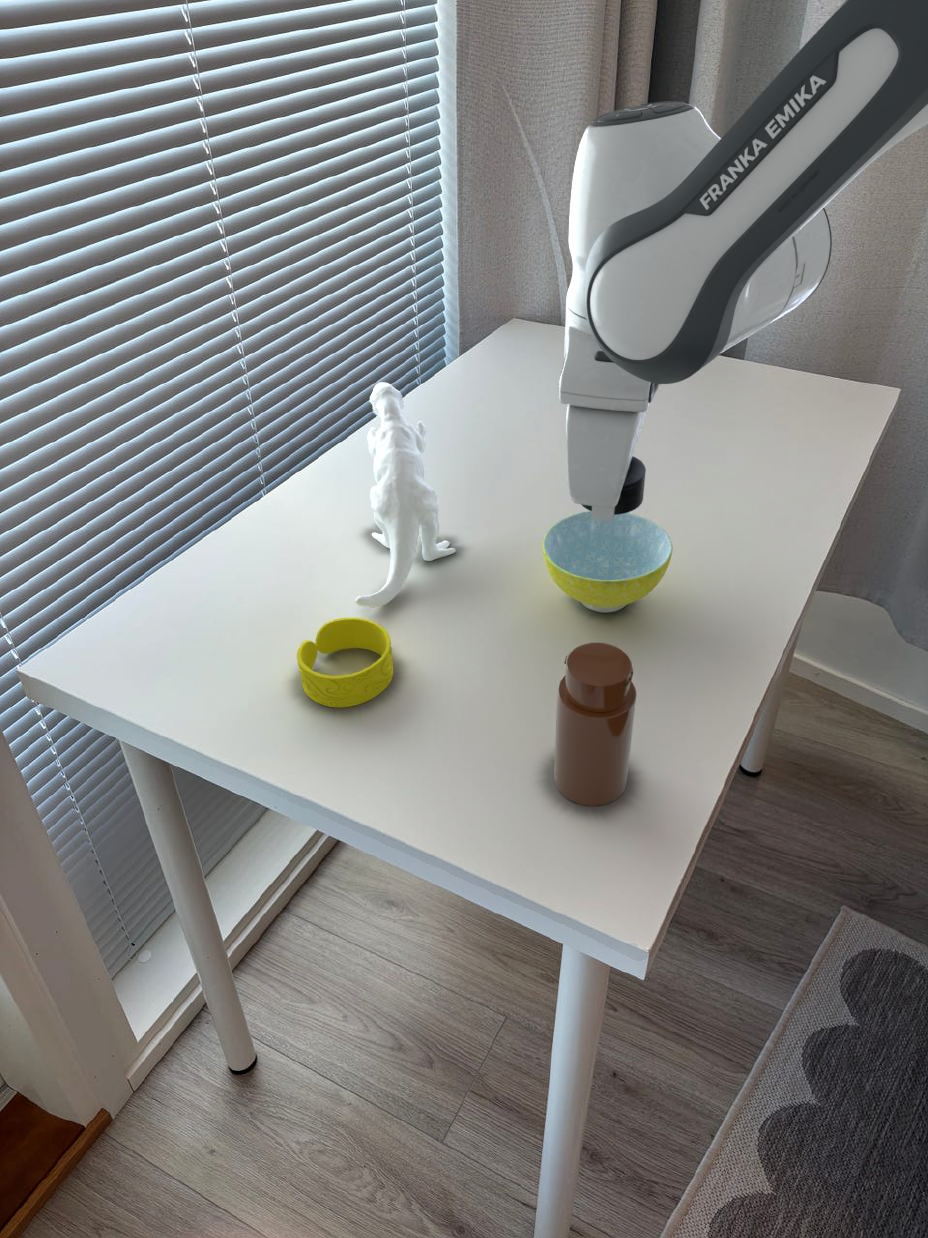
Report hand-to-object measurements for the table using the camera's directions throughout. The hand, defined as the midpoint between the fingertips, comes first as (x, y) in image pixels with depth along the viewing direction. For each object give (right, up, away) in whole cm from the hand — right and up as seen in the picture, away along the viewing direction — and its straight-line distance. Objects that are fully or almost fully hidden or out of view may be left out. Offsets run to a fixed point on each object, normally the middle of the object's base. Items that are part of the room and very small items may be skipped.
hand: (610, 495), depth 81 cm
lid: (0, +2, -1) cm, 2 cm away
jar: (-3, -23, -10) cm, 25 cm away
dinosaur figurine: (-19, -5, +13) cm, 23 cm away
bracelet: (-22, -16, 0) cm, 27 cm away
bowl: (0, -9, +7) cm, 11 cm away
